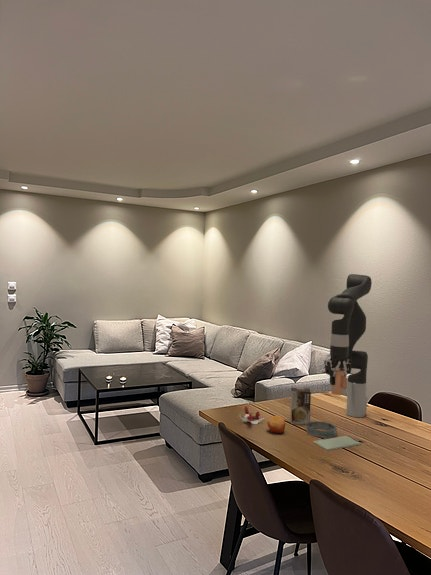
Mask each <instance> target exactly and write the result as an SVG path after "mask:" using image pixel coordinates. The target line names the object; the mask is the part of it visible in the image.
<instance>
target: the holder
mask: <svg viewBox="0 0 431 575" xmlns="http://www.w3.org/2000/svg"><path fill="white" fill-rule="evenodd" d="M305 426H306V427H305V428H306V433H307V434H308V435H310V436H312V437H316V438H321V439H322V438H323V439H330V438H336V436H337V435H338V428H337V426H336V425H335V424H333V423H331V422H326V421H322V420H321V421H318V420H317V421H316V420H313V421H310V422H309V423H307V425H305ZM321 429H322V430H321Z"/></svg>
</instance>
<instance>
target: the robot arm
mask: <svg viewBox="0 0 431 575" xmlns="http://www.w3.org/2000/svg"><path fill="white" fill-rule="evenodd" d="M372 282H373V281H372V278H371V276H369V275H365V274H358V273H357V274H356V273H355V274H354V273H352V274H351V273H350V274H348V276H347V279H346V289H344V290H343V291H342V292H341V293H340V294H339V293H338V294H336V295H334V296H332V297H331V298H330V299H329V301H328V303H327V309H328V311H329V313H331V314H334V315H343V316H342V318H339V319H333V320H332V322H331V333H330V334H331V335H330V339H329V340H330V342H329V343H330V345H329V355H330V359H329V360H324V370H325V374H326V375H327V376H329V384H330V385H331V386H332V385H335V375H336V372H337V371H338V369H341V370H344V371H345V372H344V376H346V377H347V388H346V407H345V408H346V412H345V414H346V415H347V416H350V417H353V418H363V417H365V415H366V416H367V410H368V409H367V407H368V405H367V404H368V397H367V393H366V392H367V371H368V362H369V361H368V360H369V358H368V353H367V351H364V350H363V351H362V350H354V347H355V346H356V344H357V342H358V341H359V340H360V339H361V338H362V336H363V335H364V334H365V332H366V329H367V316H366V313H365V312H364V311H363V309H362V306H360V305H359V302H358V300H359V299H361V298H362V297H364V296H366V295H368V294H369V293H370V291H371V290H372ZM352 369H355V370H360V371H358V372H356V373H352V374H351V371H352Z"/></svg>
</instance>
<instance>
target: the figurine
mask: <svg viewBox="0 0 431 575" xmlns="http://www.w3.org/2000/svg"><path fill="white" fill-rule="evenodd" d="M244 414H245V415H244V417H243V416H242V415H241V414H239V418H240V419H241V420H242V422H245V423H247V422H249V423H251V424H252V425H258V424H259V423H260V422H261V421H262V420H264V417H263V416H261V417H260V415H261V413H260V411H256V413H255V415H254V416H253V415H252V414H254V412H252V413H250V412H249V405H246V406H244Z"/></svg>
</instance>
